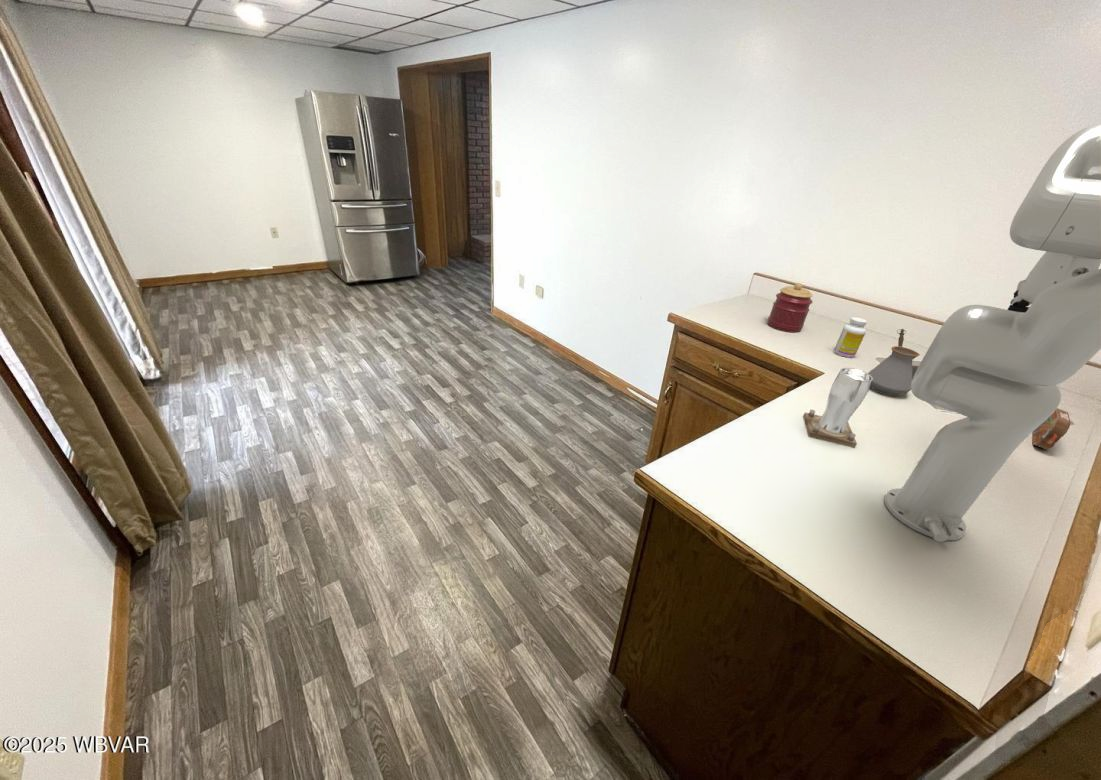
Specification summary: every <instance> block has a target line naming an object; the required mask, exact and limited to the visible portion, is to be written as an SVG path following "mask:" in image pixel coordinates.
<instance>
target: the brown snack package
mask: <svg viewBox="0 0 1101 780" xmlns="http://www.w3.org/2000/svg"><path fill="white" fill-rule="evenodd" d="M1070 426H1071V419H1070V413H1069V412H1068V411H1066V410H1063V409H1061V408H1058V407H1057V409H1056V410H1055V411H1054V413H1053V414H1052V415H1051V416H1050V417H1049V418H1048V419H1047V420H1046V421H1044V422H1043V423H1042V424H1041V425H1040V426H1039V427H1037V428H1036V429H1035V430H1034V431H1033V432H1032V433H1031V435H1032V437H1031V438H1032V439H1031V440H1032V445H1033V446H1036V447H1038V448H1041V449H1045V450H1050V449H1052V448H1053V447H1054V446H1055V445H1056V443H1057V442H1058V441H1059V440H1061V438H1063V437H1064V436H1065V435H1066V434H1067V432H1068V431H1069V428H1070Z"/></svg>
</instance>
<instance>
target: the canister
mask: <svg viewBox="0 0 1101 780" xmlns="http://www.w3.org/2000/svg"><path fill="white" fill-rule="evenodd" d="M779 291H780V292H779V293H778V292H777V293H776V294H775V296H776V299H775V300H774V301H773V303H772V304H773V305H772V307H771V311H770V314H769V315H768V319H767V325H768V326H769V327H771V328H773V329H775V330H778V331H782V332H786V333H799V332H800V331H801V332H802V329H803V328H804V323H805V321H806V319H807V317H808V313H809V312H810V306H811V305H812V304H813V299H811V298H812V297H813V294H812V293H811V292H810V290H808V289H807V288H805V287H804V288H803V284H802V283H795V285H794V286H793V285H788V286H785V287H782V288H780V290H779Z"/></svg>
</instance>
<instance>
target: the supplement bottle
mask: <svg viewBox="0 0 1101 780" xmlns="http://www.w3.org/2000/svg"><path fill="white" fill-rule="evenodd" d="M867 323H868V321H867V320H866V319H864V318H860V317H855V316H852V317H851V318H850V320H849V324H845V325H844V326H843V329H842V330H841V332H840V335H839V337H838V339H837V341H836V343H835V346H834V349H833V352H834V353H835V354H837V355H838V356H841V357H845V358H854V357H855V356H856V355H857V353H858V351H859V348H860V346H861V344H862V341H863V339H864V337H865V336H866V334H867V330H866V328H865V326H866V325H867Z"/></svg>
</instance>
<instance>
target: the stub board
mask: <svg viewBox="0 0 1101 780" xmlns="http://www.w3.org/2000/svg"><path fill="white" fill-rule="evenodd" d="M821 417H822V415H818V414H816V410H815V409H810V410H809V412H804V414H803V420H804V425H805V428H806V432H807V435H808V437H809V438H814V439H817V440H818V439H819V440H821V441H825V442H831V443H835V444H838V445H843V446H848V447H851V448H856V446H857V444H858V442H857V440H856V436H857V434H855V433H854V432H853V431H852V428H851V426H850V424H849V422H848V423H847V427H846V431H845V433H844V434H832V433H829V432H827V431H825V430H823V429H821V428H820V426H819V425H818V424H817V423H818V421H819V419H820V418H821Z"/></svg>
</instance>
